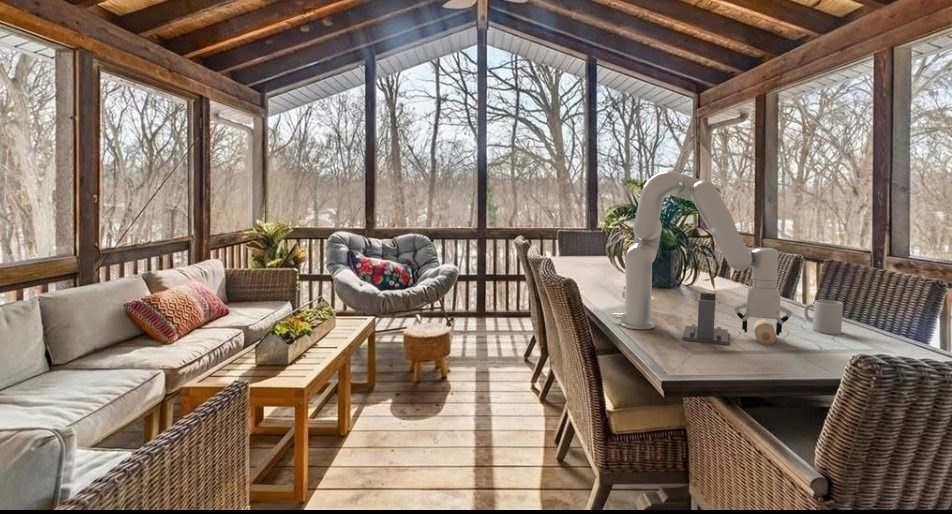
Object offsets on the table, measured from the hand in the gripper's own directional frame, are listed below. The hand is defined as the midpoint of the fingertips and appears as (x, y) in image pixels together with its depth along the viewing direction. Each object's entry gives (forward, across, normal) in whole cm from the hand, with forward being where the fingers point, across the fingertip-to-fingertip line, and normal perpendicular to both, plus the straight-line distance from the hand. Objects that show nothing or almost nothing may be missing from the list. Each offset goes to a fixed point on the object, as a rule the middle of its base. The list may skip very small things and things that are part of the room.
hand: (761, 333), depth 171 cm
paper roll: (+2, 0, 0) cm, 2 cm away
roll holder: (+2, -17, -4) cm, 18 cm away
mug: (+3, +21, +23) cm, 31 cm away
